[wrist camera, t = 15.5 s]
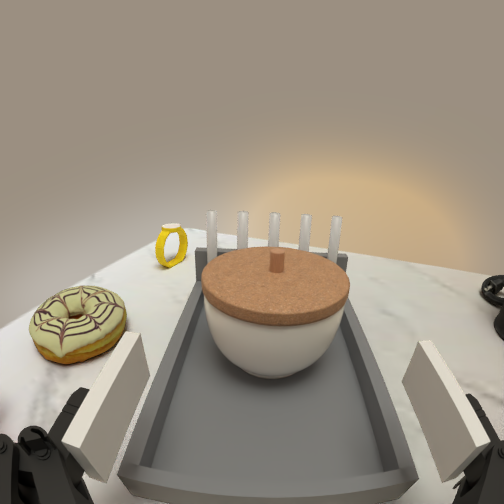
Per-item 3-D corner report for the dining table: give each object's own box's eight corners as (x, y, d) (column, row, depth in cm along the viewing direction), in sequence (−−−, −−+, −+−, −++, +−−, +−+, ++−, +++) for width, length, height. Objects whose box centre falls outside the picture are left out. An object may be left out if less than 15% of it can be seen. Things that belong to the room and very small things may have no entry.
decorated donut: (23, 338, 24) (11, 308, 23) (92, 300, 33) (86, 272, 32) (67, 386, 20) (52, 352, 19) (148, 330, 29) (143, 298, 27)
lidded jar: (179, 363, 23) (167, 256, 20) (251, 308, 31) (253, 221, 28) (298, 422, 18) (322, 307, 14) (348, 341, 26) (368, 245, 23)
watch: (177, 257, 47) (177, 220, 45) (191, 260, 46) (191, 222, 44) (152, 268, 42) (150, 227, 40) (167, 272, 41) (165, 230, 39)
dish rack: (337, 305, 34) (351, 213, 30) (398, 498, 12) (495, 378, 8) (199, 300, 35) (195, 206, 30) (132, 494, 12) (56, 370, 8)
